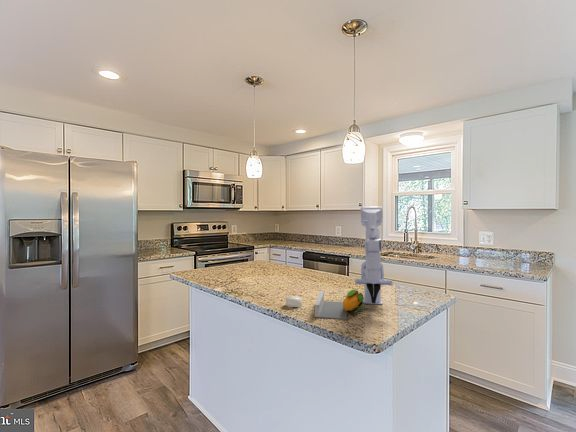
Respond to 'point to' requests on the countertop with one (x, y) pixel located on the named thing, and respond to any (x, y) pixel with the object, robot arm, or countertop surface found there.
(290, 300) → the white glossy round part
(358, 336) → the countertop surface
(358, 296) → the toy fruit
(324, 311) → the bracket
